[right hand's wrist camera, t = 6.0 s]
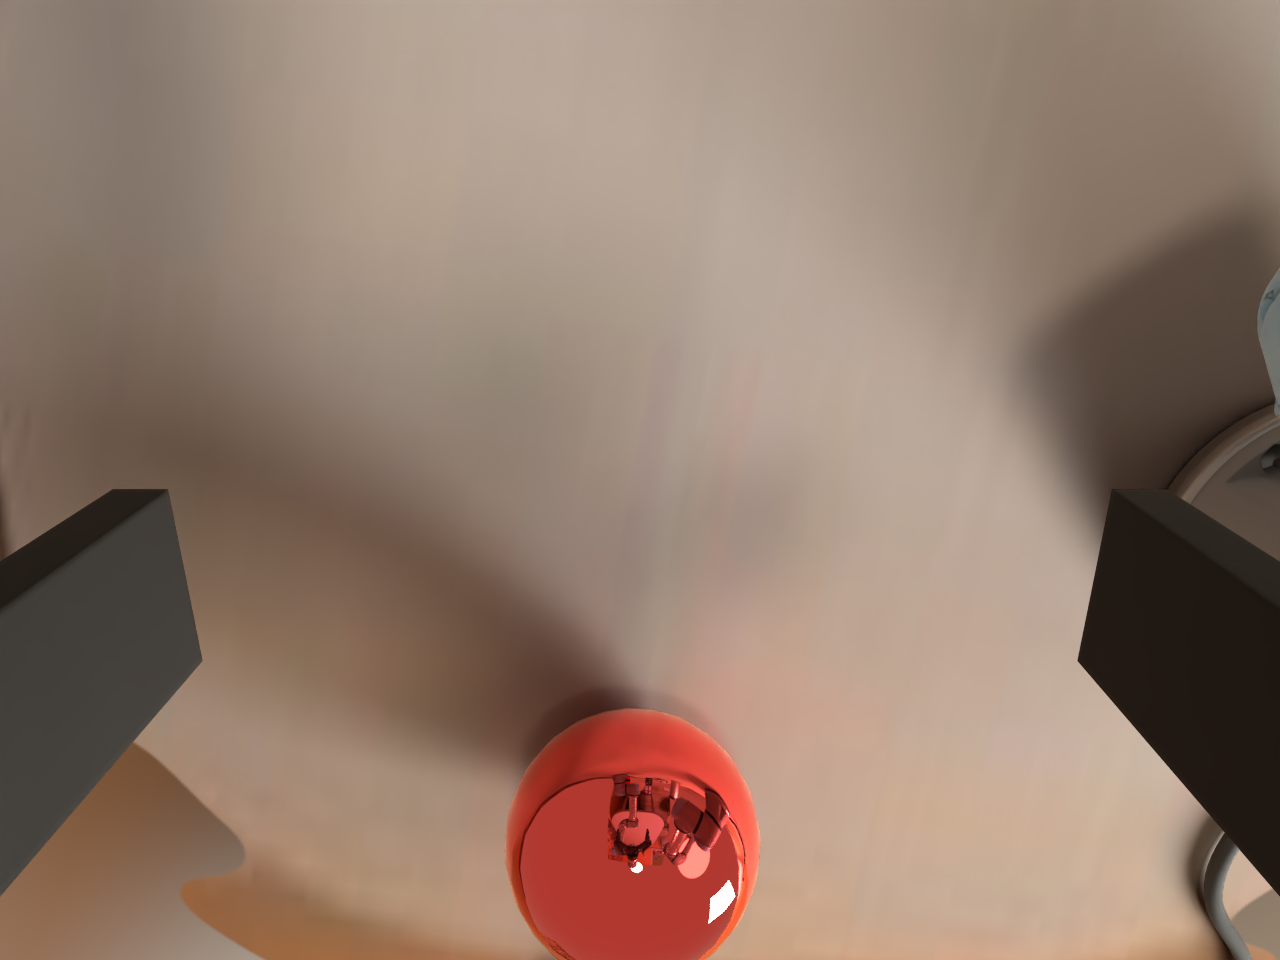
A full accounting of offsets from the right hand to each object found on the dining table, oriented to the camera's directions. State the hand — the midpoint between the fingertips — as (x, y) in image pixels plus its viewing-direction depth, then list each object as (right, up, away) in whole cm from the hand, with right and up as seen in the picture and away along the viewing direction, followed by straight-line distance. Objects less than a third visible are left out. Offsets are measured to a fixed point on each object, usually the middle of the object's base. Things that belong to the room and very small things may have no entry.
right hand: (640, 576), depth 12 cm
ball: (0, -13, +35) cm, 37 cm away
